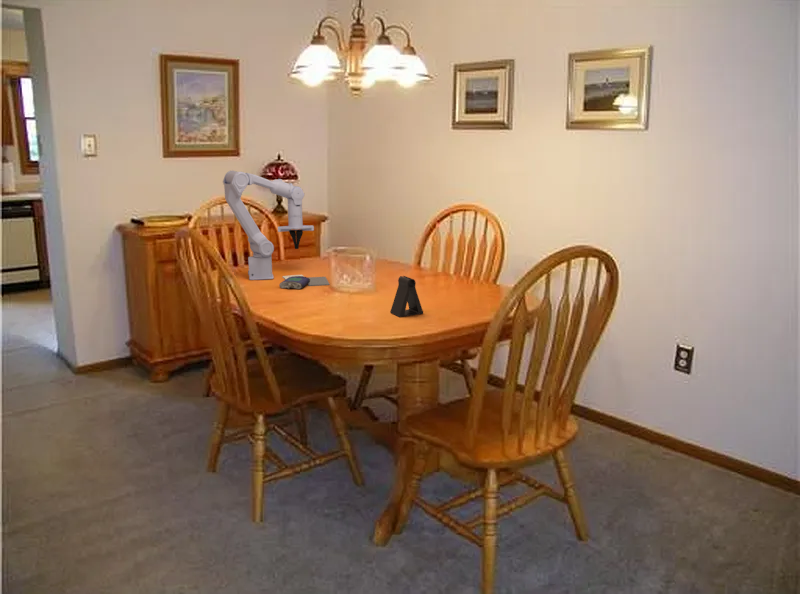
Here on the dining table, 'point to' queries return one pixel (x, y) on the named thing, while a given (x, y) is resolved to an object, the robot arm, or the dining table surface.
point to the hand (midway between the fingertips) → (296, 248)
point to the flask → (295, 282)
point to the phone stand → (406, 298)
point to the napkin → (290, 276)
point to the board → (318, 281)
